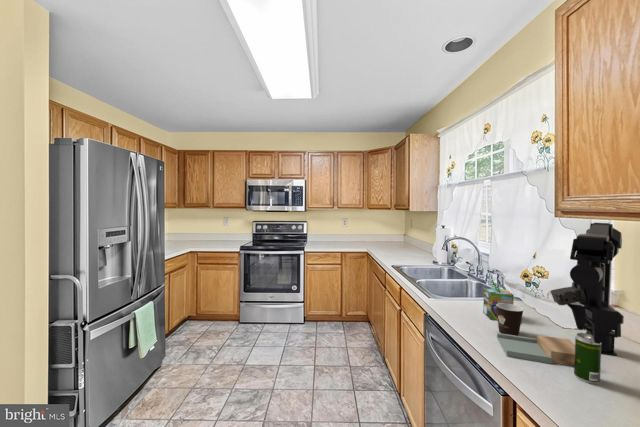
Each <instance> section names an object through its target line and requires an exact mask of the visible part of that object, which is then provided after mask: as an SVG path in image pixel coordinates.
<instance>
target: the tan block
mask: <svg viewBox="0 0 640 427" xmlns="http://www.w3.org/2000/svg"><path fill="white" fill-rule="evenodd" d="M536 339H537V344H538V345H539V346H540V348H541V349H542V350H543V351H544V353H545V354H546V355H547V356H551V357H552V364H554V363H555V364H561V365H566V366H571V367H572V366H573V367H574V361H575V343H573V342H572V341H571V340H570V339H567V338H561V337H553V336H547V335H542V334H541V335H539V334H537V336H536Z"/></svg>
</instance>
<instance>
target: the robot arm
mask: <svg viewBox="0 0 640 427" xmlns="http://www.w3.org/2000/svg"><path fill="white" fill-rule="evenodd" d="M622 236H623V235H622V232H621V231H619V230H618V229H616V228H614V225H613V224H612V223H610V222H593V223H592V222H590V226H589V228H588V229H586V231H585V233H579V234H578V235H577V236H576V238H573V241H572V245H571V251H570V257H569V259H570V260H573V261H576V265H575V266H573V267H572V268H571V269H570V271H569V277H570V279H571V280H572V282H571V286H566V287H560V288H556V289H551V290H550V293H551V297H552V299H553V301H554V303H556V304H557V305H558V306H567V307H569V308H570V310H571V311H572V314H573V319H574V322H575V326H576V329H577V330H580V331H581V330H586V332H585V333H586V334H590V335H593V339H594V342H595V343H598V344H600V343H601V354H603V355H604V354H606V355H610V356H611V355H612V356H618V354H617V352H615V339H616V338H621V337H622V324H624V319H625V318H624V316H625V315H624V314H622V313H621V312H619V311H618V310H617V309H614V308H613V306H612V305H611V304H610V302H611V299H610V298H611V281H612V280H611V279H612V278H611V277H612V262H613V260H614V258H615V257H616V256H617V255H618V254H619V252H620V251H619V249H622V246H623V237H622Z"/></svg>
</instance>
